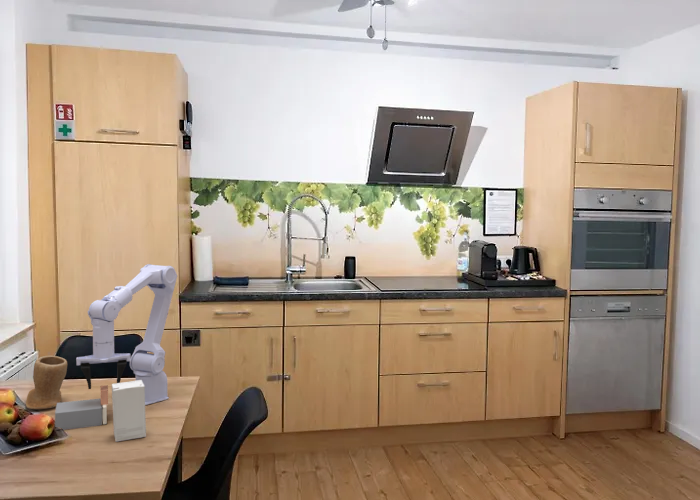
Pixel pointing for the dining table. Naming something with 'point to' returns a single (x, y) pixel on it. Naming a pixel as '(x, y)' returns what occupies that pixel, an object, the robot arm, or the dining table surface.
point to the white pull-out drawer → (104, 402)
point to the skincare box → (129, 410)
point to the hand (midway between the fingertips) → (104, 386)
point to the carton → (78, 414)
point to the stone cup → (47, 382)
